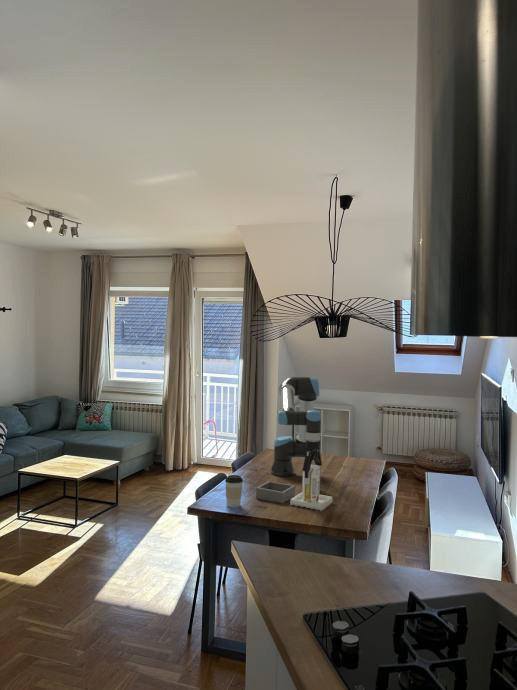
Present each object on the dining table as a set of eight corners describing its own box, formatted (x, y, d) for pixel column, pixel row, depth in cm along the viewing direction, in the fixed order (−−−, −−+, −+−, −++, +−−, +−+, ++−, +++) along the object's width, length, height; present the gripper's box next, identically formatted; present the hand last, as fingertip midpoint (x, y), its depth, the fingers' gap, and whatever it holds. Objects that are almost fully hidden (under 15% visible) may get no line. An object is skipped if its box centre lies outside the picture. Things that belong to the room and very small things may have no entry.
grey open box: (255, 497, 262) (256, 487, 262) (268, 490, 276) (269, 481, 276) (282, 503, 255) (283, 492, 255) (294, 495, 268) (294, 485, 268)
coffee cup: (225, 502, 254) (226, 473, 254) (242, 502, 254) (243, 473, 254) (223, 507, 245) (224, 478, 245) (241, 508, 245) (242, 478, 245)
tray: (290, 505, 252) (290, 499, 252) (302, 496, 266) (302, 491, 266) (321, 511, 244) (321, 505, 244) (332, 502, 258) (332, 496, 258)
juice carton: (320, 501, 256) (321, 465, 256) (314, 506, 248) (315, 468, 248) (307, 499, 259) (308, 463, 259) (300, 503, 252) (301, 466, 252)
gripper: (310, 445, 242) (309, 488, 242) (328, 437, 264) (327, 476, 264) (296, 443, 246) (295, 485, 246) (315, 435, 268) (314, 474, 268)
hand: (312, 480), depth 255 cm, fingers open, 13 cm apart
